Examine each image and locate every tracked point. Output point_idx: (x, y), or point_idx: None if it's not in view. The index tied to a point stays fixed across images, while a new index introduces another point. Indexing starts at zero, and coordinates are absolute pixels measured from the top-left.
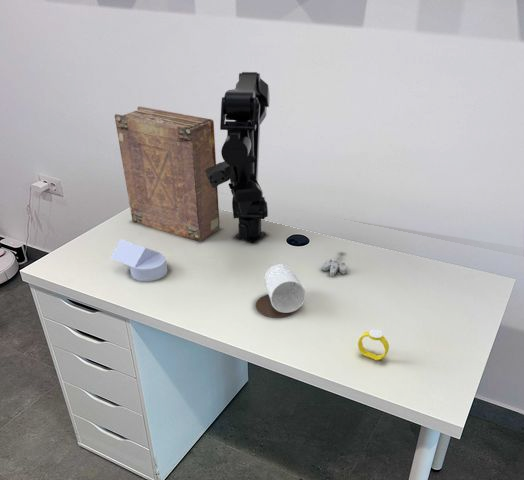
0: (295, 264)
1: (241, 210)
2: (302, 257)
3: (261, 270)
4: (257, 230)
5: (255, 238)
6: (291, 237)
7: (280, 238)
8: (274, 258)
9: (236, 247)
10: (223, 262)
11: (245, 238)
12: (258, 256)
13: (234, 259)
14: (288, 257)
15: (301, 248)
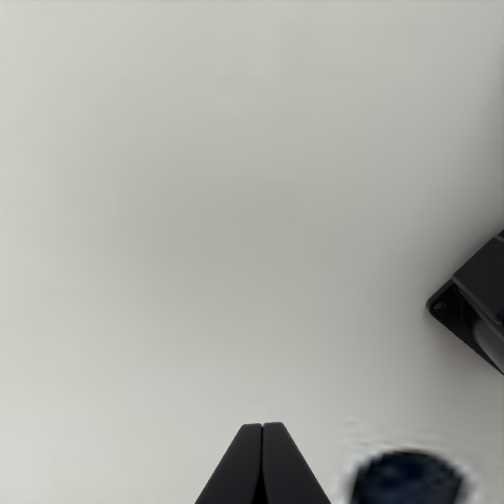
0: (182, 455)
1: (209, 488)
2: None
3: (131, 317)
4: (492, 360)
5: (463, 324)
6: (443, 473)
7: (447, 429)
8: (246, 383)
9: (401, 210)
10: (228, 124)
11: (459, 275)
12: (276, 316)
13: (258, 191)
14: None
15: None
